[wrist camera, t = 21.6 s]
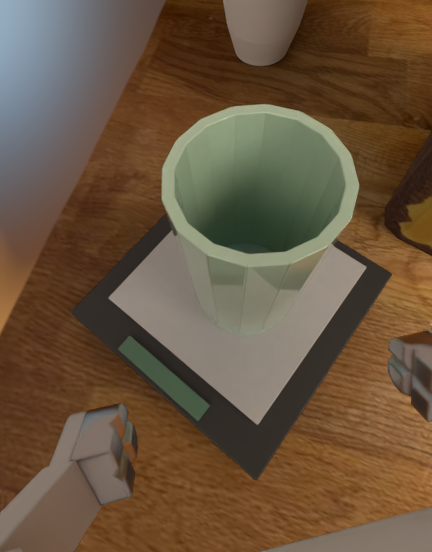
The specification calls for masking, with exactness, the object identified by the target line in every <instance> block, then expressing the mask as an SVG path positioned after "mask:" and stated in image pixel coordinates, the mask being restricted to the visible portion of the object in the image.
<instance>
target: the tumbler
mask: <svg viewBox="0 0 432 552" xmlns="http://www.w3.org/2000/svg"><path fill="white" fill-rule="evenodd" d="M358 191H359V182H358V178H357V174H356V170H355V166H354V162H353V158H352V155H351V153H350V152H349V151H348V149H347V148H346V147H345V146H344V144H343V143H342V142H341V141H340V140H339V138H338V137H337V136H336V135H335V133H334V132H333V131H332V130H331V129H330V128H329V127H327V126H325V125H324V124H322V123H320V122H318V121H317V120H315V119H313V118H312V117H310V116H308V115H306V114H305V113H303V112H300V111H297V110H293V109H288V108H284V107H279V106H274V105H270V104H267V105H266V104H258V105H245V106H233V107H229V108H227V109H224V110H222V111H219V112H217V113H214V114H212V115H209V116H207V117H204V118H202V119H201V120H199V121H198V122H196V123H195V124H194V125H193V126H192V127H191V128H189V129H188V130H187V131H186V132H185V133H184V134H182V135H181V136H180V137H179V138H178V139H177V140H176V141H175V143H174V145H173V147H172V149H171V151H170V153H169V155H168V157H167V159H166V161H165V163H164V165H163V167H162V190H161V199H162V203H163V206H164V209H165V212H166V214H167V217H168V220H169V223H170V226H171V228H172V231H173V234H174V237H175V240H176V243H177V245H178V248H179V251H180V254H181V257H182V259H183V262H184V265H185V268H186V271H187V274H188V276H189V279H190V282H191V285H192V288H193V290H194V293H195V296H196V298H197V300H198V302H199V305H200V307H201V309H202V311H203V313H204V314H205V315H206V317H207V318H208V319H209V320H210V321H211V322H212V323H214V324H215V325H216V326H217V327H219V328H221V329H223V330H225V331H227V332H230V333H234V334H239V335H253V334H258V333H262V332H265V331H267V330H269V329H271V328H273V327H274V326H276V325H277V324H278V323H280V322H281V321H282V320H283V318H284V317H285V316H286V315H287V313H288V312H289V311H290V310H291V309H292V307H293V306H294V304H295V303H296V301H297V300H298V298H299V297H300V295H301V294H302V292H303V291H304V289H305V288H306V286H307V285H308V283H309V282H310V280H311V279H312V277H313V276H314V274H315V273H316V271H317V270H318V268H319V267H320V265H321V264H322V262H323V261H324V259H325V258H326V256H327V255H328V254H329V252H330V251H331V249H332V248H333V246H334V245H335V243H336V242H337V240H338V239H339V237H340V236H341V234H342V233H343V231H344V230H345V228H346V227H347V225H348V224H349V222H350V221H351V219H352V216H353V212H354V208H355V204H356V199H357V195H358Z"/></svg>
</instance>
